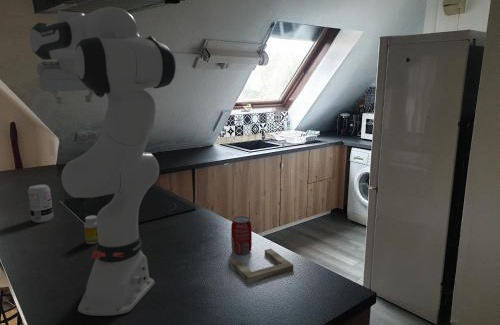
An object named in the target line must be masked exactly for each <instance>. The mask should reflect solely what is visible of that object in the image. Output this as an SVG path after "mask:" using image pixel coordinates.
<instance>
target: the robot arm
mask: <svg viewBox="0 0 500 325" xmlns="http://www.w3.org/2000/svg"><path fill="white" fill-rule="evenodd" d="M29 32H30V33H29V43H30V47H31V49H32V52H33V53H34V54H35V55H36V56H37V57H39V58H40V59H42V60H45V61H41V62H40V63H38V65H37V67H36V68H37V73H38V87H39V88H40V89H41V91H42V92H51V93H52V95H53V96H54V98H55V103H56V104H63V103H62V100H63V99H62V97H61V96H58V93H59V92H65V91H66V92H69V91H71V92H73V91H76V92H77V91H88V92H89V93H88V95H85V103H92V98H93V96H94V95H95V96H96V97H98V98H104V97H105V94H106V97H107V99H108V101H107V102H108V105H107V109H106V113H105V115H104V119H103V122H102V126H101V129H100V130H101V131H100V132H99V135H98V138H97V141H96V142H95V143H94V144H93V146H91V147H90V148H89V149H88V150H87V151H86V152H84V153H83V154H81V155H80V156H78V157H76V158H74V159H72V160H70V161H68V162H67V163H66V164H65V166H64V167H63V169H62V172H61V178H60V179H61V184H62V187H63V189H64V190H65V191H66V192H65V193H67V194H68V195H69V196H71V197H73V198H76V199H77V198H80V199H81V198H83V199H87V198H92V199H93V198H97V197H102V196H104V197H105V196H108V195H109V196H110V195H113V194H114V195H113V198H112V199H111V200H110V202H108V203H107V204H106V205H105V206H103V207H102V208H101V209H100V210H99V211H98V213H97V215H96V216H97V217H96V226H97V236H98V241H97V243H96V246H95V250H93V251H92V253H91V258H92V259H94V263H93V265H92V268H91V272H90V274H89V277H88V281H87V282H86V290H85V291H84V293H83V295H82V298H81V301H80V302H79V305H78V307H77V312H79V313H81V314H83V315H87V316H97V317H102V316H104V317H106V316H107V317H109V316H117V315H123V314H126V313H130V311H132V310H133V309H134V307H136V306H137V304H138V303H139V302H140V301H141V300H142V298H143V297H145V295H146V294H147V293H148V292H149V291H150V290H151V289H152V288H153V286H155V280H154V279H153V278H151V277H150V273H149V266H148V265H149V264H148V258H147V256H146V255H145V254H144V253H143V252H142V240H141V236H140V234H139V210H140V206H141V204H142V201H143V199H144V196H145V195H146V193H147V192H148V190H149V189H150V188H151V187H152V186H153V185H154V184H155V183H156V182H157V179H158V178H159V174H160V165H159V162H158V160H157V158H156V157H155V155H153V153H151V152H150V151H149V152H148V151H145V150H146V147H147V145H148V142H149V141H150V140H149V139H150V137H151V134H152V131H153V127H154V123H155V116H156V102H155V100H154V98H153V96H152V95H151V94H150V93H149V92H148V91H147V90H145V89H151V88H152V89H160V88H164V87H166V86H169V85H170V84H171V83H172V82H173V80H174V78H175V74H176V58H175V55H174V53H173V52H172V50H171V49H170V48H169V47H168V46H167V45H166V44H164V43H161V42H159V41H157V40H156V39H155V38H154V36H152V35H149V36H148V37H142V36H140V34H139V29H138V24H137V22H136V20H135V18H134V17H133V16H132V15H131V13H130V12H128V11H127V10H125V9H123V8H120V7H115V6H107V7H106V6H105V7H102V8H97V9H95V10H93V11H91V12H89V13H87V14H85V13H84V12H82V11H80V10H71V9H60V10H59V11H57V16H56V23H53V24H51V23H45V22H37V23H36V24H35V25H34V26H33V27H31V29H30V31H29ZM46 60H57V61H46Z"/></svg>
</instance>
